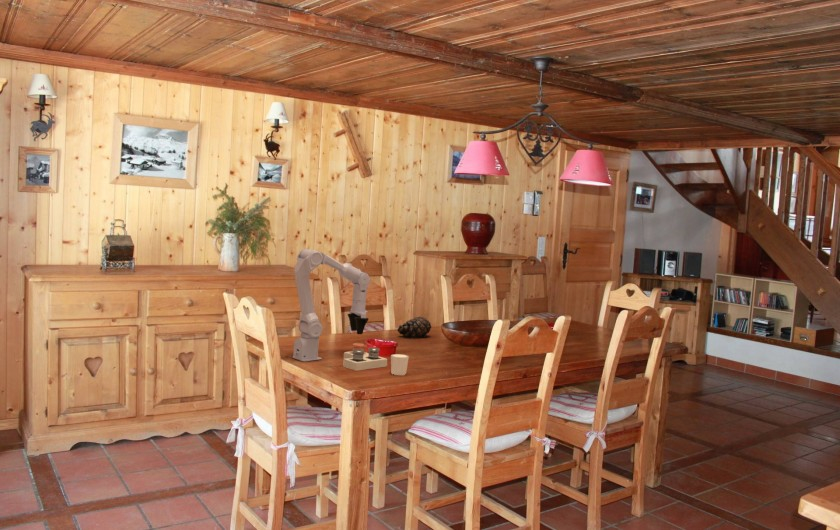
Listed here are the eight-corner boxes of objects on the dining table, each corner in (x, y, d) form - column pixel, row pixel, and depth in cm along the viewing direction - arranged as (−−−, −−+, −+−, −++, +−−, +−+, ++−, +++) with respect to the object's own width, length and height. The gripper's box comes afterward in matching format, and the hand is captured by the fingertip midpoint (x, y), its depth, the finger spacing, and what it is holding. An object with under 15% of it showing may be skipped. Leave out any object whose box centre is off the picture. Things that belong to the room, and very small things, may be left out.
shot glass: (407, 372, 278) (408, 354, 277) (407, 376, 271) (409, 358, 270) (389, 371, 277) (391, 353, 277) (389, 375, 270) (390, 356, 270)
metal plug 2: (372, 361, 281) (373, 350, 281) (365, 358, 284) (365, 347, 284) (381, 360, 284) (382, 349, 284) (373, 357, 288) (374, 346, 287)
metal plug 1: (357, 363, 275) (357, 352, 275) (349, 360, 279) (350, 349, 278) (366, 362, 279) (366, 351, 278) (358, 359, 282) (359, 348, 282)
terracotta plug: (357, 356, 288) (357, 345, 287) (349, 354, 291) (350, 343, 291) (365, 355, 291) (366, 344, 291) (358, 353, 294) (359, 342, 294)
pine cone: (394, 336, 350) (395, 316, 349) (419, 334, 363) (420, 314, 362) (409, 340, 343) (410, 320, 342) (434, 337, 356) (435, 317, 355)
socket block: (356, 370, 273) (356, 363, 273) (327, 361, 285) (328, 354, 285) (386, 366, 285) (387, 359, 284) (358, 357, 297) (359, 350, 297)
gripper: (374, 303, 294) (371, 335, 295) (362, 298, 307) (360, 329, 308) (357, 302, 291) (355, 335, 292) (346, 297, 304) (344, 329, 305)
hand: (356, 332), depth 300 cm, fingers open, 7 cm apart
